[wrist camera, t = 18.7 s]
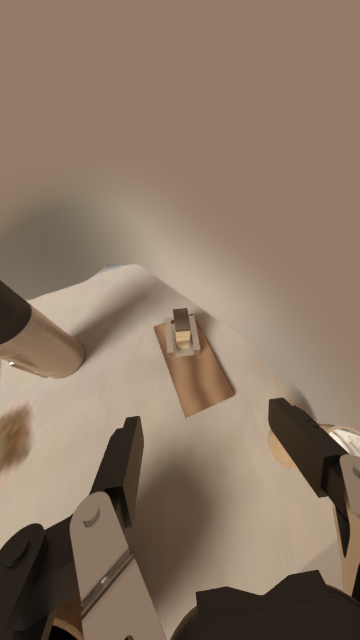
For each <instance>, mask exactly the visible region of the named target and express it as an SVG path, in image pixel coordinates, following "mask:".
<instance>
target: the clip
mask: <svg viewBox="0 0 360 640" xmlns="http://www.w3.org/2000/svg"><path fill="white" fill-rule="evenodd" d="M189 321H190V327H191V331H190V345H189V347H185V348H177V344H176V335H175V325H174V324H171V319H170V318H165V329H166V343H167V354H168V358H174V357H183V356H192V355H199V354H200V344H199V339H198V333H197V328H196V323H195V317H194V315H192V316H189Z"/></svg>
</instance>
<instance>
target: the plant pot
mask: <svg viewBox="0 0 360 640" xmlns="http://www.w3.org/2000/svg"><path fill="white" fill-rule="evenodd" d="M81 609H82V604H81V597H80V593H79V594H78V595H76V596H75V597H73V598H72V599H71V600H69V601H68V602H66V603H65V604H63V605H62V606H60V607H59V608H58V609H57V612H56V615H55V618H54V621H53V625H52V628H51V631H50V634H49V638H48V640H84V635H83V628H82V620H81Z"/></svg>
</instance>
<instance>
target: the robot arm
mask: <svg viewBox="0 0 360 640" xmlns="http://www.w3.org/2000/svg"><path fill="white" fill-rule="evenodd" d="M84 356H85V352H84V348H83V346H82V345H81V344H79V343H78V342H77V341H76V340H74V339H73V338H72V337H71V336H70V335H68V334H67V333H66V332H64V331H63V330H62V329H61V328H59V327H58V326H57V325H56V324H54V323H53V322H52V321H51V320H49V319H48V318H47V317H46V316H44V315H43V314H42V313H40V312H39V311H38V310H37V309H35V308H34V307H33V306H32V305H30V304H29V303H28V302H27V301H25V300H24V299H23V298H21V297H20V296H19V295H18V294H16V293H15V292H14V291H13V290H11V289H10V288H9V287H8V286H7V285H5V284H4V283H3V282H2V281H0V358H1V359H4V360H6V361H9V365H10V366H12V367H15V368H18V369H21V370H23V371H26V372H29V373H32V374H35V375H38V376H41V377H43V378H46V377H52V378H64V377H67V376H69V375H71V374H72V373H74V372H75V371H76V370H77V369H78V368H79V367H80V365H81V364H82V362H83V360H84ZM268 421H269V425H270V428H271V430H272V432H273V433H274V434H275V436H276V437H277V439H278V440H279V442H280V443H281V445H282V446H283V447H284V449H285V450H286V452H287V453H288V455H289V456H290V457H291V459H292V460H293V462H294V463H295V465H296V466H297V467H298V469H299V470H300V472H301V473H302V475H303V476H304V477H305V479H306V480H307V482H308V483H309V485H310V486H311V487H312V489H313V490H314V492H315V493H316V495H317V496H318V497H319V498H320V497H326V496H329V498H330V499H331V500H332V502H333V513H334V519H335V526H336V532H337V538H338V544H339V551H340V557H341V564H342V588H343V591H341V590H339V589H337V588H335V587H332V586H330V585H327V584H325V582H324V580H323V578H322V576H321V574H320V573H319V570H314V571H309V572H303V573H297V574H292V575H288V576H287V577H286V578H285V579H283V580H282V581H281V582H280V583H278V584H277V585H276V586H275V587H274V588H272V589H271V590H270V591H269V592H267V593H266V594H265V595H256V594H253V593H249V592H245V591H242V590H238V589H234V588H230V587H221V588H216V589H210V590H205V591H199V592H196V600H197V606H196V607H195V608H193V609H192V610H191V611H190V612H189V613H188V614H187V615H186V616H185V617H184V618H183V619H182V621H181V622H180V624H179V625H178V627H177V628H176V630H175V632H174V633H173V635H172V637H171V639H170V640H360V457H358V456H355V455H351V454H349V453H348V452H347V451H346V450H345V449H344V448H343V447H342V446H341V445H340V444H338V443H337V442H336V441H335V440H334V439H333V438H332V437H331V436H330V435H329V434H328V433H327V432H326V431H325V430H324V429H323V428H322V427H320V426H319V425H318V424H317V423H316V422H315V421H313V419H312V418H311V417H310V416H309V415H308V414H307V413H306V412H305V411H303V410H301V409H300V408H298V407H296V406H291V405H290V404H289V403H288V402H287V401H286V400H285V399H284V398H275V399H270V400H269V416H268ZM143 448H144V437H143V431H142V425H141V419H140V416H134V417H127V418H126V420H125V423H124V426H123V428H120V429H117V430H116V431H115V432H114V433H113V435H112V436H111V437H110V440H109V443H108V445H107V449H106V451H105V453H104V457H103V459H102V462H101V464H100V467H99V470H98V472H97V475H96V478H95V481H94V483H93V486H92V489H91V491H90V494H89V496H88V497H87V498H85V499H84V500H83V501H82V502H81V503H80V505H79V506H78V507H77V509H76V510H75V512H74V514H72V515H71V516H70V517H68V518H66V519H65V520H63V521H61V522H59V523H57V524H55V525H53V526H51V527H50V528H48V529H46V530H44V529H43V526H42V525H40V524H37V523H35V524H30V525H28V526H26V527H24V528H22V529H21V530H20V531H18V532H17V533H16V534H15V535H13V536H12V537H11V538H10V539H9V540H8V541H7V542H6V544H5V545H4V546H3V547H2V548H1V550H0V640H48V638H49V634H50V631H51V628H52V625H53V621H54V618H55V615H56V612H57V609H58V608H59V607H60V606H62V605H63V604H65V603H66V602H68V601H69V600H71V599H72V598H73V597H75V596H76V595H78V594H79V593H80V597H81V604H82V609H81V620H82V628H83V635H84V640H167V638H166V636H165V633H164V631H163V628H162V626H161V623H160V620H159V618H158V615H157V613H156V610H155V608H154V605H153V603H152V600H151V598H150V595H149V593H148V590H147V588H146V585H145V582H144V580H143V577H142V575H141V572H140V570H139V567H138V565H137V562H136V560H135V557H134V555H133V553H132V552H131V551H130V549H129V547H128V544H127V542H126V539H125V536H124V529H125V528H128V527H132V524H133V517H134V510H135V503H136V496H137V489H138V483H139V476H140V469H141V462H142V455H143Z"/></svg>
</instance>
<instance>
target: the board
mask: <svg viewBox="0 0 360 640" xmlns="http://www.w3.org/2000/svg"><path fill="white" fill-rule="evenodd" d="M192 315H193V314H190V315H189V316H192ZM195 323H196V328H197V333H198V339H199V344H200V354H199V355H192V356H183V357H174V358H168V354H167V343H166V329H165V323H163V324H160V325H157V326H154V330H155V332H156V335H157V338H158V341H159V344H160V347H161V349H162V352H163V355H164V358H165V361H166V364H167V367H168V369H169V372H170V375H171V378H172V381H173V384H174V386H175V389H176V392H177V395H178V398H179V401H180V403H181V406H182V409H183V412H184V415H185V418H186V417H188V416H191V415H193V414H195V413H197V412H199V411H202V410H204V409H206V408H208V407H210V406H213V405H215V404H217V403H219V402H221V401H224V400H226V399H228V398H230V397H232V396H234V393H233V391H232V389H231V387H230V385H229V383H228V381H227V379H226V377H225V375H224V374H223V372H222V370H221V368H220V366H219V364H218V362H217V360H216V358H215V356H214V354H213V352H212V350H211V349H210V347H209V345H208V343H207V341H206V339H205V337H204V335H203V333H202V331H201V329H200V327H199V325H198V324H197V322H196V320H195ZM171 324H174V320H172V321H171Z"/></svg>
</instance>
